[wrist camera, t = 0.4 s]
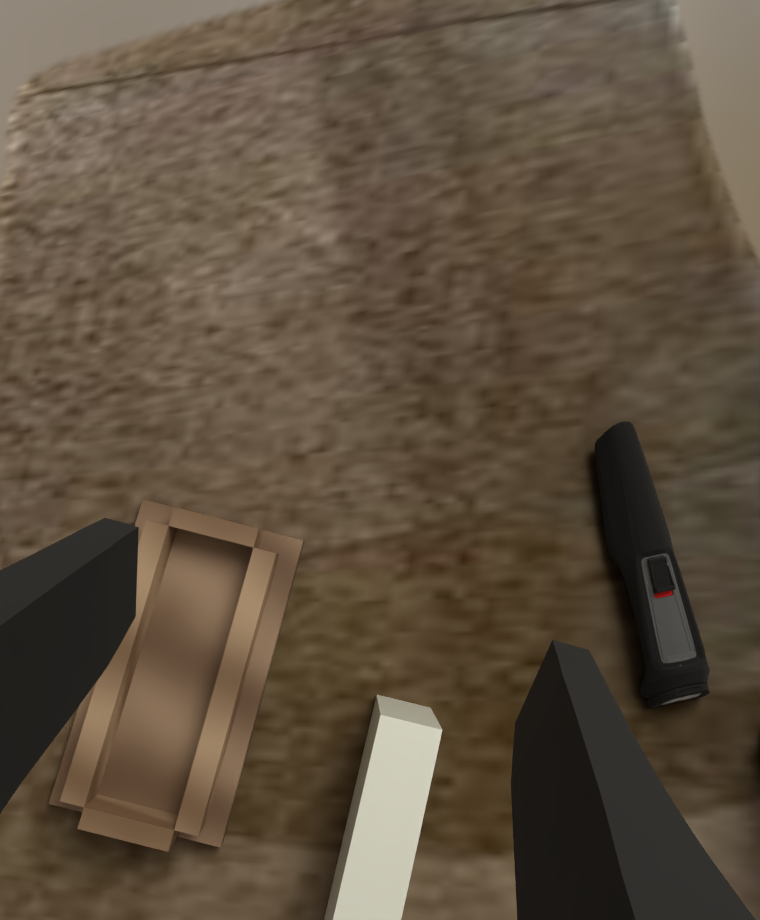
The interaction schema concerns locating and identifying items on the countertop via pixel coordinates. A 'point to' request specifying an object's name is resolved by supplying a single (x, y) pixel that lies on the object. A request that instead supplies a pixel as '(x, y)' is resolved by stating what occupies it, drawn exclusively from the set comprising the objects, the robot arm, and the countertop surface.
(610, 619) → the countertop surface
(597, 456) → the electric trimmer
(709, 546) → the countertop surface
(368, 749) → the clay strip
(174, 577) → the tray
